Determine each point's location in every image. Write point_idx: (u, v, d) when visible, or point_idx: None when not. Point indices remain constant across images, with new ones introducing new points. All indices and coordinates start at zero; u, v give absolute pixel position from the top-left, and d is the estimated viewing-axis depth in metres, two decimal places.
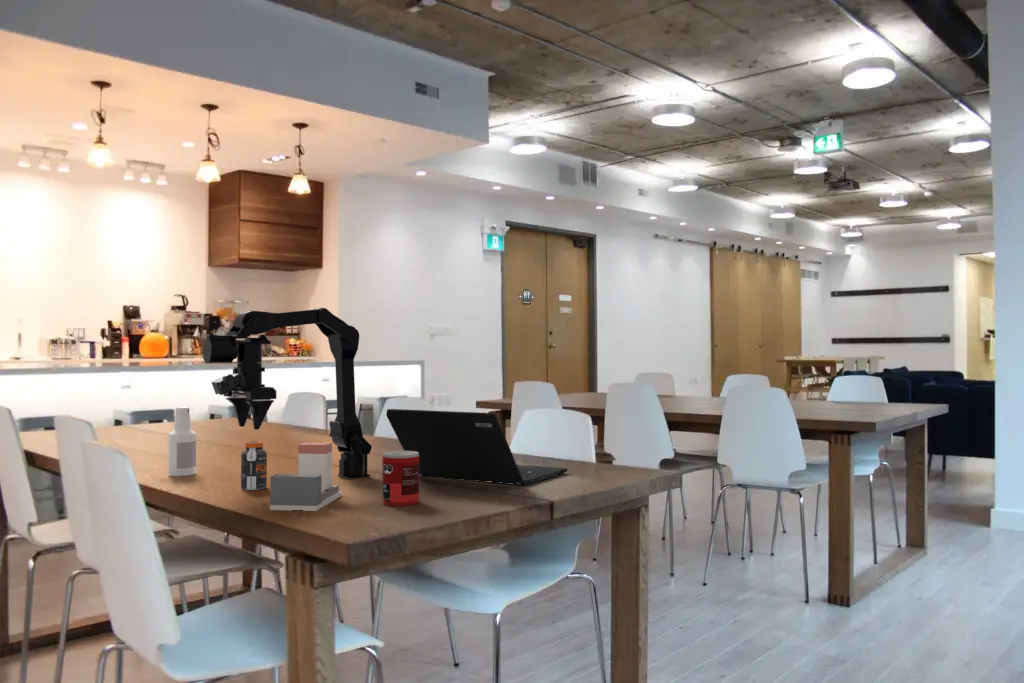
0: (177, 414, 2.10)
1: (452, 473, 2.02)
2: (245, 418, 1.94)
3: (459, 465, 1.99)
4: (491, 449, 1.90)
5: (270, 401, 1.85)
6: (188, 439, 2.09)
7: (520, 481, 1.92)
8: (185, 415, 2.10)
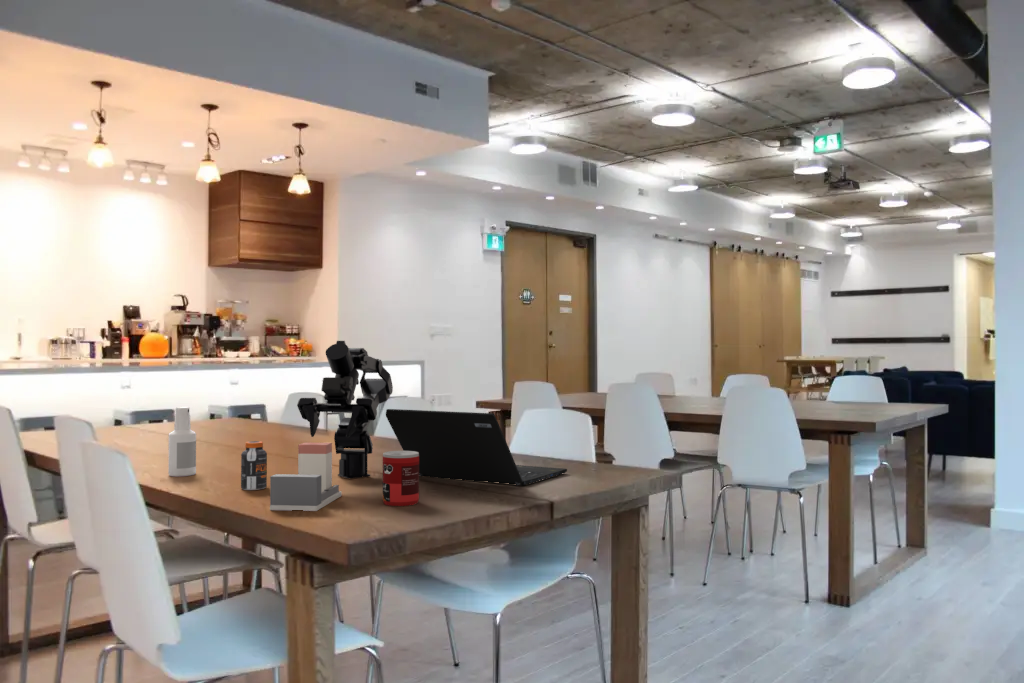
0: (177, 414, 2.10)
1: (451, 474, 2.02)
2: (315, 431, 1.92)
3: (458, 466, 1.99)
4: (490, 449, 1.89)
5: (368, 419, 1.94)
6: (188, 439, 2.09)
7: (519, 481, 1.92)
8: (185, 415, 2.10)
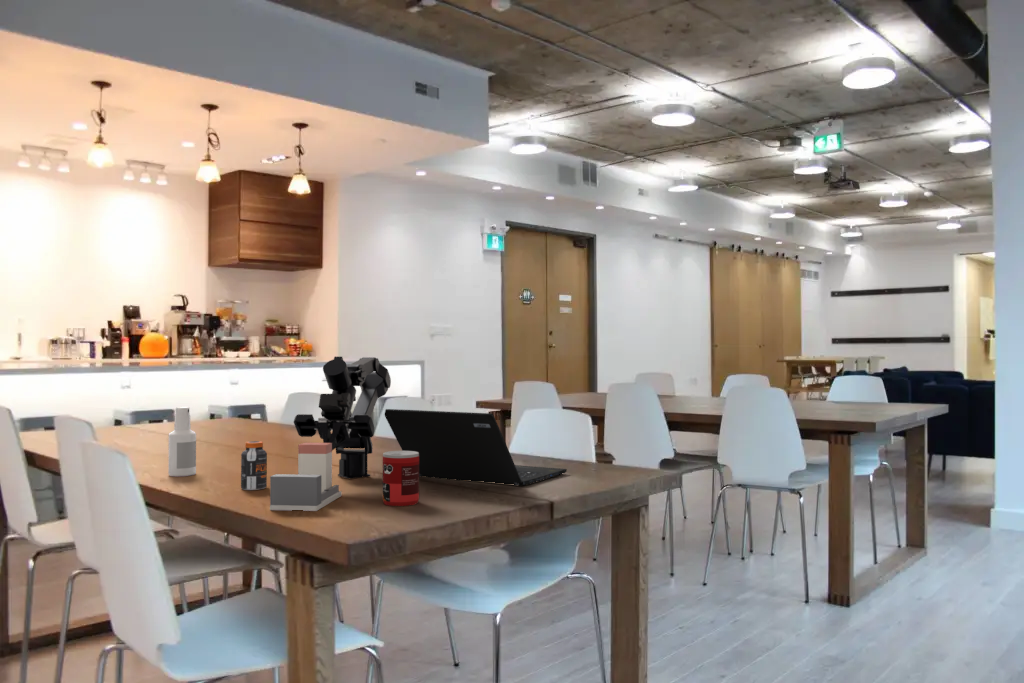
0: (177, 414, 2.10)
1: (450, 474, 2.01)
2: None
3: (457, 466, 1.98)
4: (489, 449, 1.89)
5: (349, 435, 1.92)
6: (188, 439, 2.09)
7: (518, 482, 1.91)
8: (185, 415, 2.10)
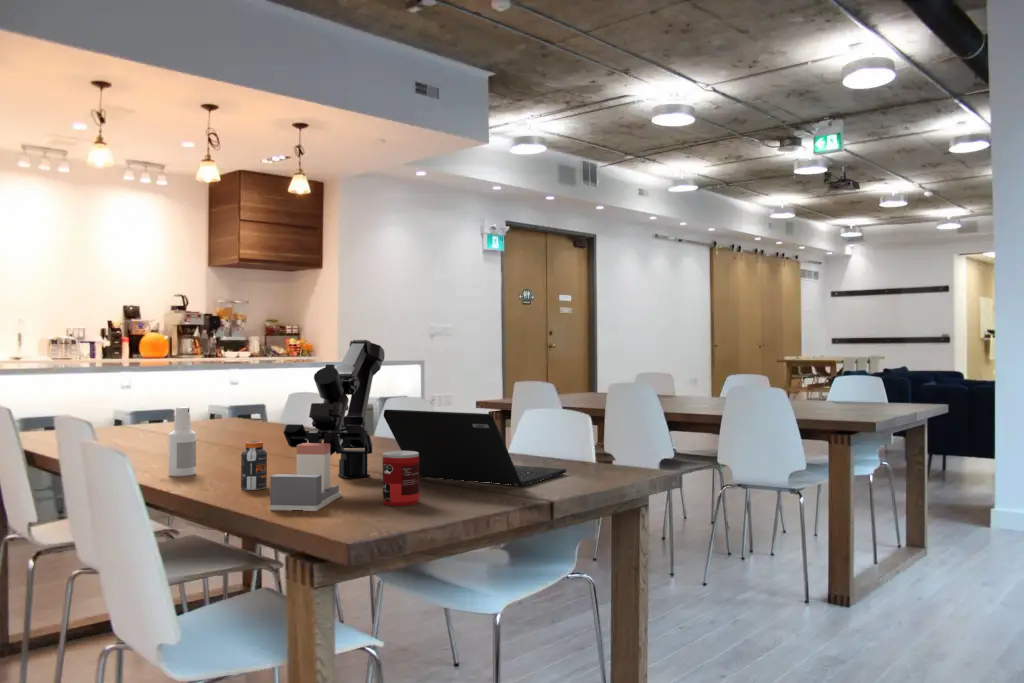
0: (177, 414, 2.10)
1: (449, 474, 2.01)
2: None
3: (456, 466, 1.98)
4: (488, 450, 1.88)
5: (340, 446, 1.86)
6: (188, 439, 2.09)
7: (518, 482, 1.91)
8: (185, 415, 2.10)
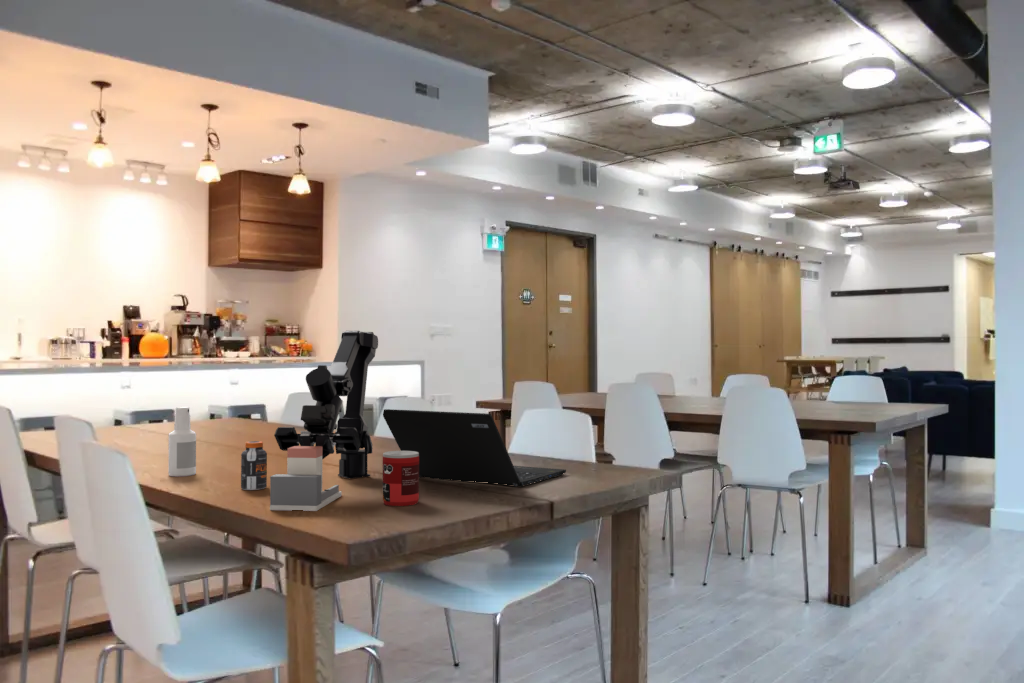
0: (177, 414, 2.10)
1: (449, 474, 2.01)
2: None
3: (456, 466, 1.97)
4: (488, 450, 1.88)
5: (333, 449, 1.80)
6: (188, 439, 2.09)
7: (517, 482, 1.91)
8: (185, 415, 2.10)
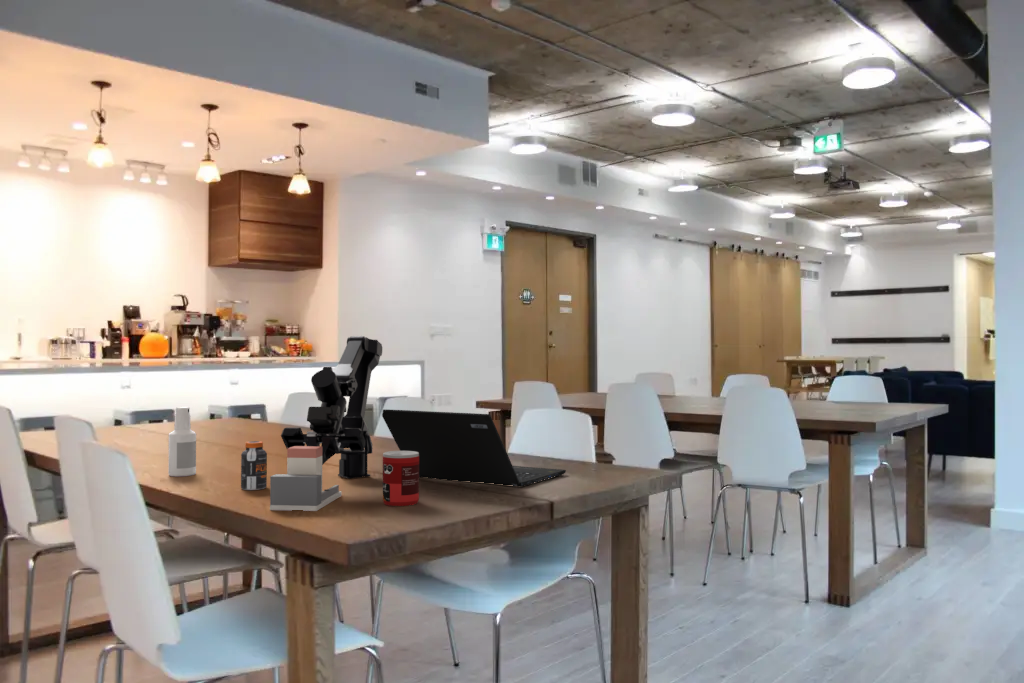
0: (177, 414, 2.10)
1: (448, 474, 2.00)
2: None
3: (455, 467, 1.97)
4: (487, 450, 1.87)
5: (339, 449, 1.84)
6: (188, 439, 2.09)
7: (516, 483, 1.90)
8: (185, 415, 2.10)
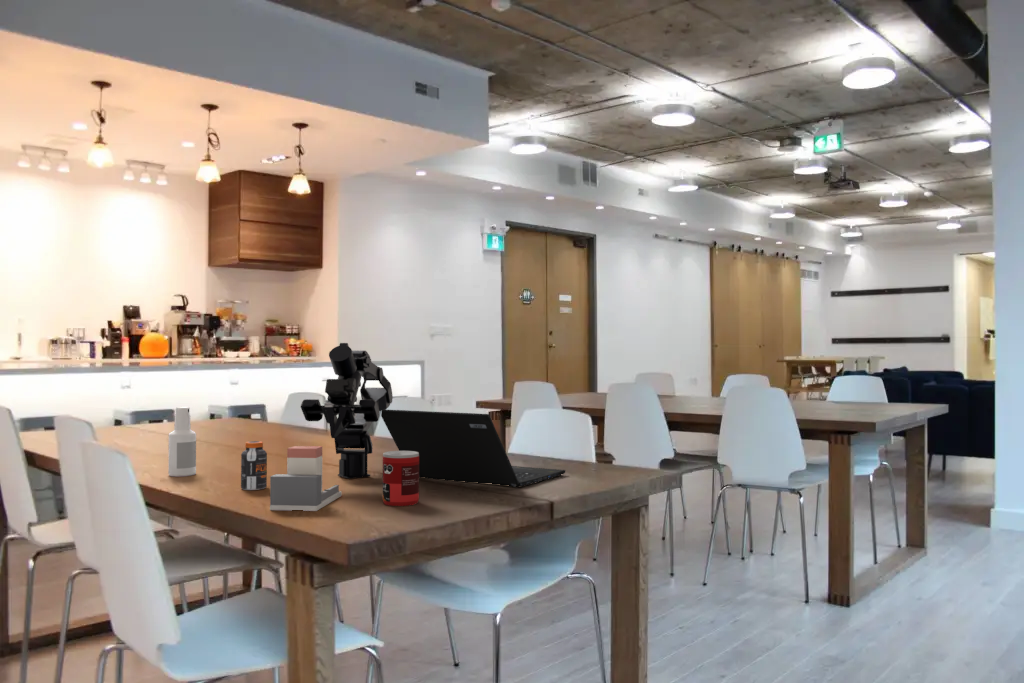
0: (177, 414, 2.10)
1: (447, 475, 2.00)
2: None
3: (454, 467, 1.97)
4: (486, 450, 1.87)
5: (354, 420, 1.97)
6: (188, 439, 2.09)
7: (515, 483, 1.90)
8: (185, 415, 2.10)
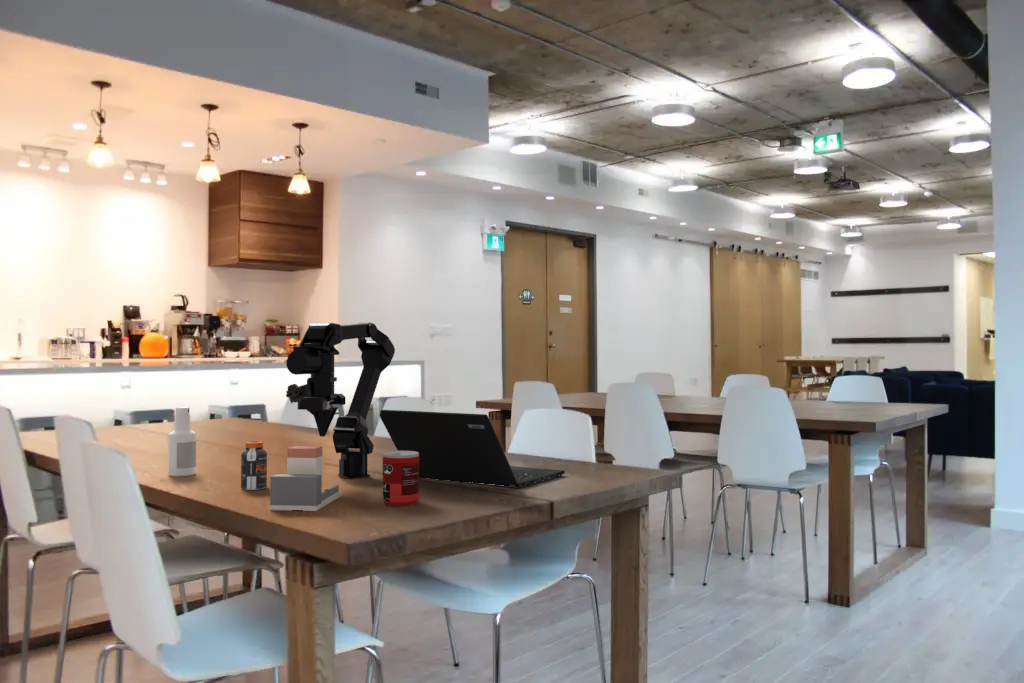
0: (177, 414, 2.10)
1: (446, 475, 1.99)
2: None
3: (453, 467, 1.96)
4: (484, 451, 1.86)
5: (324, 410, 1.92)
6: (188, 439, 2.09)
7: (514, 483, 1.89)
8: (185, 415, 2.10)
